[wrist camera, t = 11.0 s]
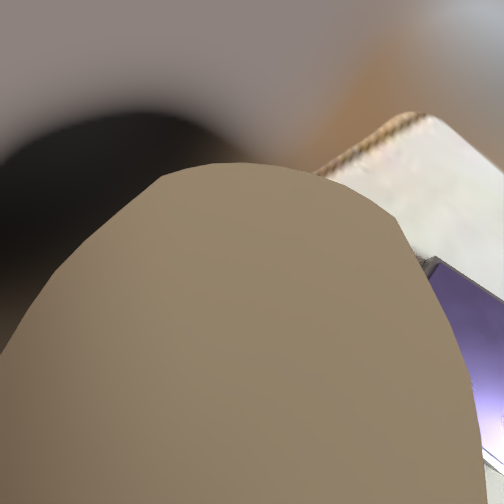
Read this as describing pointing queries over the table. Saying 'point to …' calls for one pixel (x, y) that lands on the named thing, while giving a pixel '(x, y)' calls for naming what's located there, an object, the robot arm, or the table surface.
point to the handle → (239, 357)
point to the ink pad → (476, 348)
